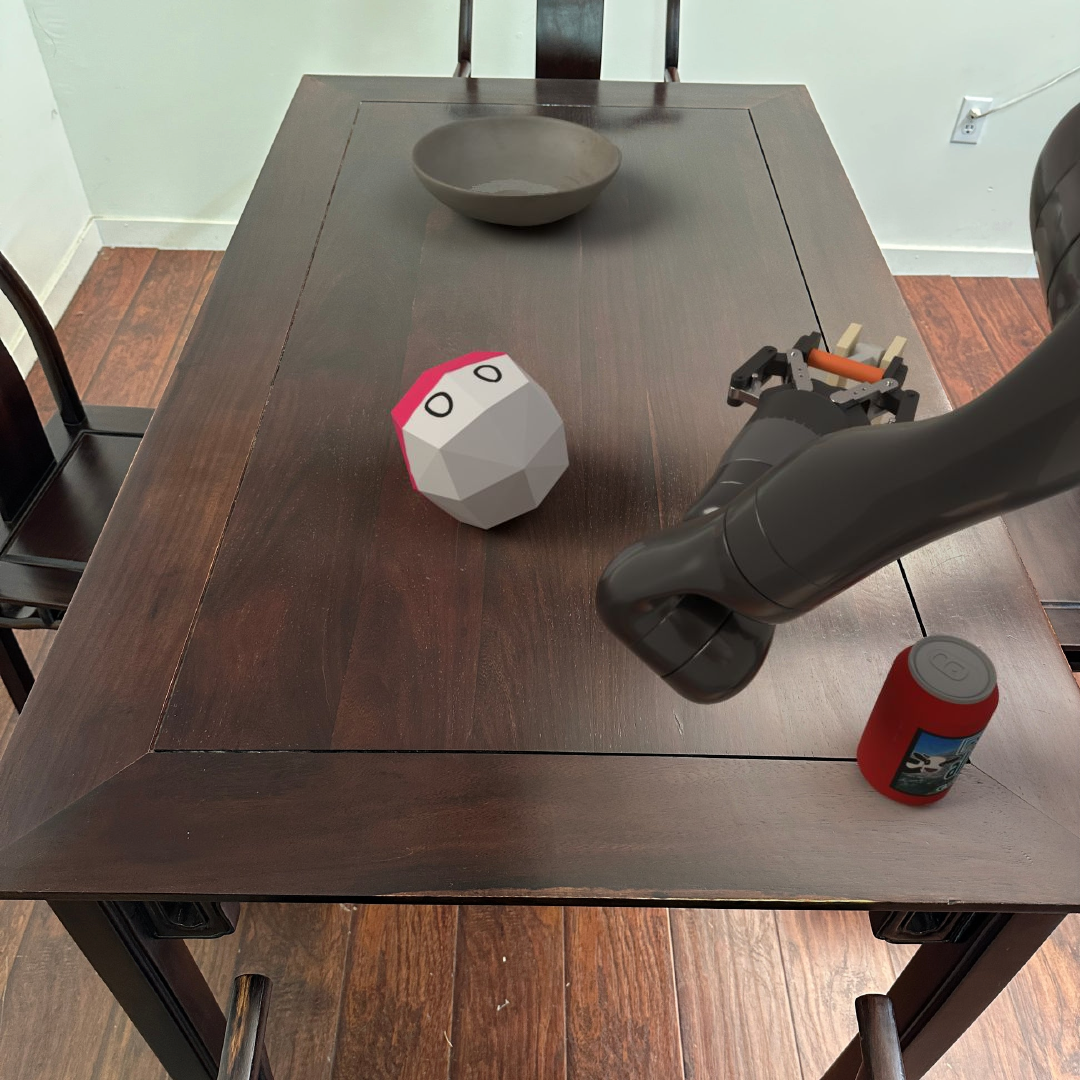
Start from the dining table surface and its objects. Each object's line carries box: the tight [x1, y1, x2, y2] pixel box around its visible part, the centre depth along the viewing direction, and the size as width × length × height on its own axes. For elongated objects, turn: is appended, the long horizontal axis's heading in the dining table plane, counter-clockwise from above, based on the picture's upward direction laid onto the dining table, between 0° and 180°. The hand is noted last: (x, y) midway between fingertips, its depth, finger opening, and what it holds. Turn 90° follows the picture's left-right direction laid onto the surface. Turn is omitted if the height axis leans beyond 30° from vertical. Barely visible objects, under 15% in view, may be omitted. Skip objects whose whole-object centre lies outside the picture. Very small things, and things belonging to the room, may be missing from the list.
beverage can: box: [856, 634, 1000, 807], centre depth 65 cm, size 7×7×12 cm
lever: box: [807, 341, 887, 384], centre depth 81 cm, size 12×6×2 cm, turn 149°
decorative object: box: [390, 350, 570, 530], centre depth 86 cm, size 15×15×15 cm
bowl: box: [410, 114, 623, 227], centre depth 131 cm, size 27×28×8 cm
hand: (854, 354), depth 78 cm, fingers closed on lever, 6 cm apart
